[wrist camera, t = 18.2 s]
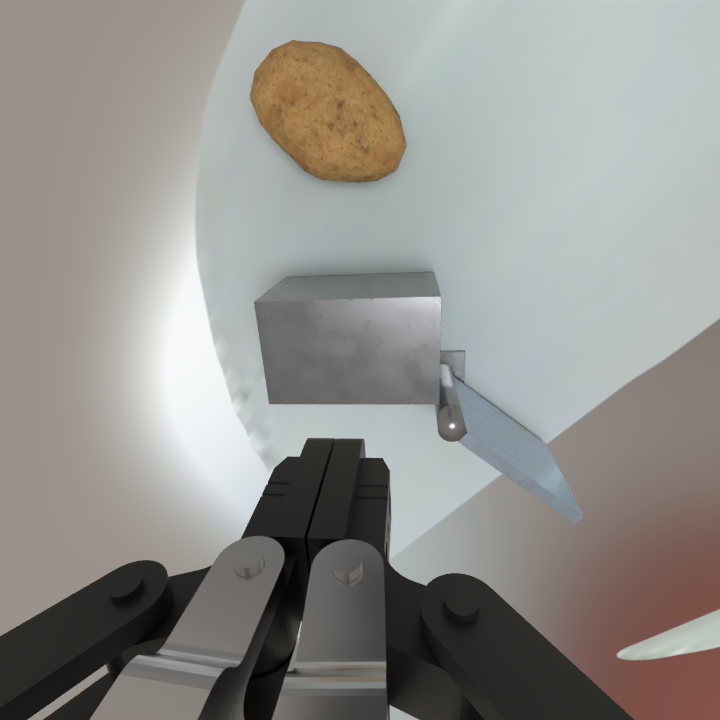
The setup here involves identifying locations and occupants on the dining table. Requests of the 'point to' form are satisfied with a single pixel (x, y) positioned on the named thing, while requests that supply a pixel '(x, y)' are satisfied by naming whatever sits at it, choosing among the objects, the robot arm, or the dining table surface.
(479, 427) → the dough scraper
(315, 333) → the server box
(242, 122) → the dining table surface
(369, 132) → the potato
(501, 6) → the dining table surface
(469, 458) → the dining table surface
